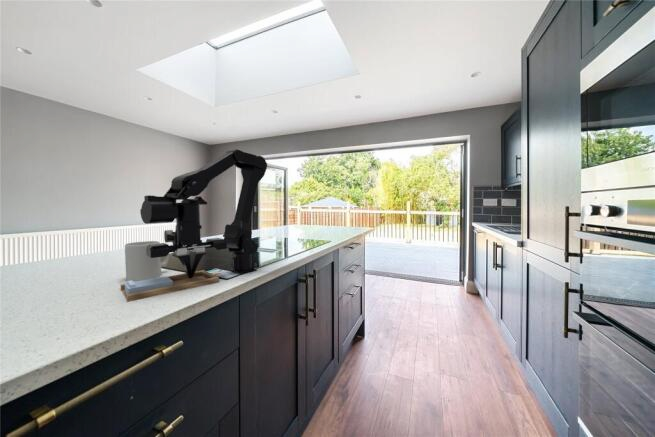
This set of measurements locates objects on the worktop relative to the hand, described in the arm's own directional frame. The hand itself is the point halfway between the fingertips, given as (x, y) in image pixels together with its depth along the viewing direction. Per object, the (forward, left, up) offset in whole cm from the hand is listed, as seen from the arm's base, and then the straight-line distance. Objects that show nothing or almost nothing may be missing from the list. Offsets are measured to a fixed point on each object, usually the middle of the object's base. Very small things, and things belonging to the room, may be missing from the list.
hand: (190, 278), depth 71 cm
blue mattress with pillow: (+9, 0, -1) cm, 10 cm away
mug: (+6, -16, -2) cm, 17 cm away
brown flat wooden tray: (+4, 0, -2) cm, 5 cm away
